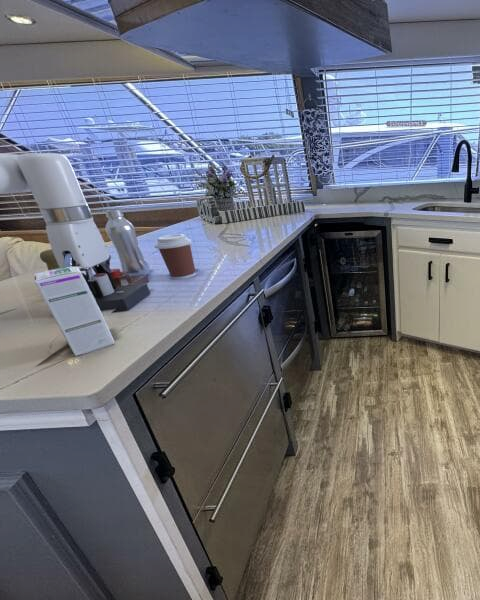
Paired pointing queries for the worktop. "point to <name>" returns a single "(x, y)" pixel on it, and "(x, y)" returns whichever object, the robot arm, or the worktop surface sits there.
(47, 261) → the cork
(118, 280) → the ignition block
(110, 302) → the panel
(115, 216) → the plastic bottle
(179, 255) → the coffee cup
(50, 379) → the worktop surface
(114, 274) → the ignition button
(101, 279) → the stove knob
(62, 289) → the syrup box
